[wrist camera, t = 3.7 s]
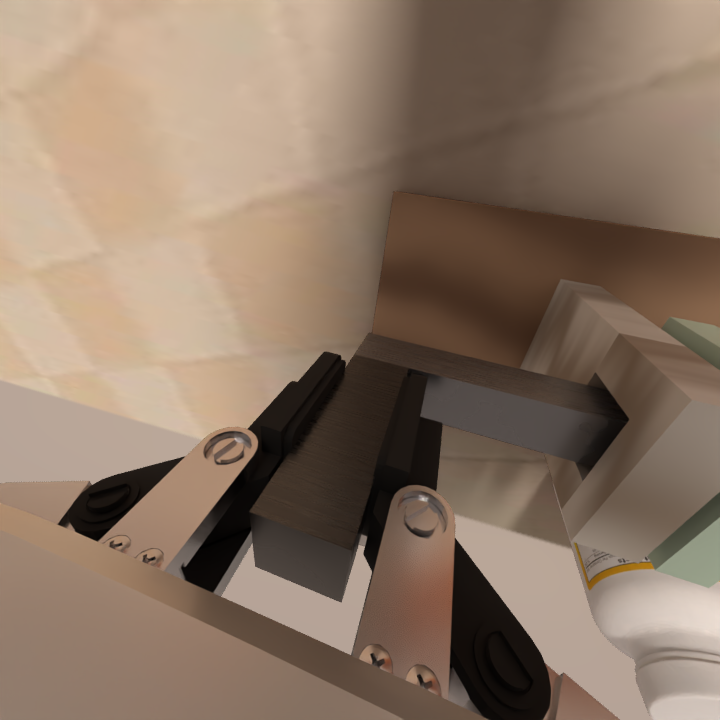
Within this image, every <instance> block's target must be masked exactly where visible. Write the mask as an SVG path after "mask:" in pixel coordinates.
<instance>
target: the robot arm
mask: <svg viewBox="0 0 720 720" xmlns="http://www.w3.org/2000/svg"><path fill="white" fill-rule="evenodd" d="M345 366H346V362H345V361H344V360H341V356H340V355H338V354H334V353H330V352H324V353H323V354H322V355H321V356H320V357H319V358H318V359H317V361H316V362H315V363H314V364H313V365H312V366H311V367H310V369H309V370H308V371H307V372H306V373H305V374H304V375H303V377H302V378H301V379H300V380H299V381H298V382H295V381H292V382H290V383H289V384H288V385H287V386H286V387H285V388H284V389H283V391H282V392H281V393H280V394H279V395H278V396H277V397H276V398H275V399H274V400H273V402H272V403H271V404H270V405H269V406H268V407H267V408H266V409H265V410H264V411H263V413H262V414H261V415H260V416H259V417H258V418H257V419H256V420H255V421H254V422H253V424H252V425H251V426H250V427H249V428H248V429H245V428H240V427H227V428H223V429H219V430H217V431H215V432H213V433H211V434H209V435H208V436H207V437H205V438H204V439H203V440H202V441H201V442H200V443H199V444H198V445H197V446H196V447H195V448H194V449H193V450H192V451H191V452H190V453H189V454H188V455H187V456H185V457H181V458H178V459H174V460H170V461H166V462H162V463H159V464H155V465H151V466H147V467H143V468H140V469H136V470H133V471H128V472H125V473H121V474H117V475H114V476H111V477H108V478H105V479H102V480H101V481H99V482H97V483H95V484H93V485H91V483H90V481H61V482H60V481H57V482H8V483H0V720H620V719H619V718H618V717H616V716H615V715H614V714H613V713H612V712H610V711H609V710H608V709H607V708H606V707H604V706H603V705H602V704H601V703H599V702H598V701H597V700H596V699H595V698H593V697H592V696H591V695H590V694H589V693H588V692H587V691H585V690H584V689H583V688H582V687H580V686H579V685H578V684H577V683H576V682H575V681H573V680H572V679H571V678H570V677H569V676H567V675H566V674H565V673H562V674H561V675H558V674H557V673H556V672H555V671H554V670H552V669H551V668H550V667H549V666H548V665H547V664H545V663H544V660H543V658H542V655H541V653H540V652H539V650H538V648H537V647H536V645H535V644H534V642H533V640H532V639H531V638H530V636H529V635H528V634H527V632H526V631H525V630H524V628H523V627H522V626H521V624H520V623H519V622H518V620H517V619H516V618H515V616H514V615H513V614H512V613H511V611H510V610H509V608H508V607H507V606H506V604H505V603H504V602H503V600H502V599H501V598H500V596H499V595H498V594H497V593H496V591H495V590H494V589H493V587H492V586H491V585H490V583H489V582H488V581H487V579H486V578H485V577H484V575H483V574H482V573H481V571H480V570H479V569H478V567H477V566H476V565H475V563H474V562H473V561H472V559H471V558H470V557H469V555H468V554H467V553H466V551H465V550H464V549H463V548H462V546H461V545H460V544H459V542H458V541H457V540H456V538H455V518H454V513H453V511H452V509H451V507H450V505H449V504H448V502H447V501H446V500H445V499H444V497H442V496H441V495H440V494H438V493H437V492H436V489H437V478H438V468H439V457H440V446H441V436H442V422H438V421H435V420H431V419H427V418H424V417H420V415H421V410H422V405H423V400H424V395H425V390H426V385H427V380H428V377H424V376H420V375H416V374H413V373H412V374H411V377H407V376H404V378H403V381H402V384H401V387H400V390H399V393H398V396H397V399H396V402H395V405H394V408H393V411H392V415H391V418H390V421H389V424H388V427H387V430H386V433H385V436H384V439H383V442H382V445H381V448H380V451H379V455H378V458H377V462H376V466H375V470H374V475H373V476H374V477H375V478H374V482H373V487H372V491H371V496H370V501H369V505H368V510H367V514H366V519H365V524H364V528H363V532H362V535H364V536H367V540H366V545H365V550H364V556H365V558H366V560H367V562H368V564H369V566H370V568H371V570H372V575H371V579H370V583H369V587H368V591H367V595H366V599H365V603H364V607H363V611H362V615H361V619H360V622H359V626H358V630H357V635H356V638H355V643H354V646H353V650H352V654H351V655H349V654H347V653H344V652H342V651H340V650H338V649H336V648H334V647H331V646H329V645H327V644H325V643H323V642H320V641H318V640H316V639H313V638H311V637H309V636H307V635H305V634H303V633H301V632H298V631H296V630H294V629H292V628H290V627H287V626H285V625H282V624H281V623H278V622H276V621H274V620H272V619H269V618H267V617H265V616H263V615H261V614H258V613H256V612H254V611H252V610H249V609H247V608H245V607H243V606H241V605H238V604H236V603H234V602H232V601H229V600H227V599H225V598H222V597H221V596H222V594H223V592H224V590H225V589H226V587H227V585H228V583H229V582H230V580H231V578H232V577H233V575H234V573H235V572H236V570H237V568H238V567H239V565H240V563H241V561H242V559H243V558H244V556H245V555H246V553H247V551H248V549H249V548H250V546H251V544H252V543H253V541H252V532H251V523H250V514H249V511H250V510H251V508H252V507H253V505H254V504H255V502H256V501H257V499H258V498H259V496H260V495H261V493H262V492H263V490H264V489H265V487H266V486H267V484H268V483H269V481H270V480H271V478H272V477H273V475H274V474H275V473H276V471H277V470H278V468H279V467H280V465H281V464H282V462H283V461H284V459H285V458H286V456H287V455H288V453H289V452H290V450H291V449H292V448H293V447H294V445H295V444H296V442H297V441H298V439H299V438H300V436H301V435H302V433H303V432H304V430H305V429H306V427H307V426H308V424H309V423H310V421H311V420H312V418H313V417H314V415H315V414H316V412H317V411H318V409H319V408H320V406H321V405H322V403H323V402H324V400H325V399H326V397H327V396H328V394H329V393H330V391H331V390H332V388H333V387H334V385H335V384H336V382H337V381H338V379H339V378H340V376H341V375H342V373H343V372H344V370H345Z"/></svg>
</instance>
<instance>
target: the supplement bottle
mask: <svg viewBox="0 0 720 720" xmlns="http://www.w3.org/2000/svg"><path fill="white" fill-rule="evenodd" d="M553 488H554V491H555V495H556V498H557V501H558V505H559V508H560V511H561V514H562V518H563V521H564V524H565V527H566V523H565V520H564V517H563V513H562V510H561V507H560V504H559V500H558V497H557V494H556V490H555V487H554V484H553ZM566 530H567V527H566ZM567 534H568V537H569V533H568V530H567ZM569 540H570V537H569ZM570 543H571V547H572V550H573V553H574V556H575V559H576V563H577V566H578V570H579V573H580V576H581V579H582V582H583V586H584V589H585V593H586V596H587V600H588V603H589V606H590V609H591V613H592V616H593V619H594V621H595V623H596V625H597V626H598V628H599V629H600V631H601V632H602V634H603V635H604V636H605V637H606V638H607V640H609V642H610V643H611V644H612V645H614V646H615V647H616V648H617V649H618V650H620V651H621V652H622V653H624V654H626V655H627V656H629V657H630V658H632V659H634V661H635V664H636V666H635V672H636V682H637V685H638V687H639V690H640V693H641V695H642V698H643V701H644V703H645V706H646V708H647V711H648V713H649V715H650V716H651V718H652V719H653V720H720V581H719V582H717V583H716V584H714V585H713V586H711V587H710V588H707V587H704V586H701V585H698V584H695V583H692V582H689V581H686V580H683V579H680V578H676V577H673V576H670V575H667V574H664V573H661V572H658V571H655V569H654V567H653V565H652V563H651V561H650V559H649V557H648V555H647V556H646V557H645V558H644V559H643V560H642V561H640V562H639V563H635V562H632V561H629V560H626V559H623V558H620V557H617V556H614V555H611V554H608V553H605V552H602V551H599V550H596V549H593V548H590V547H587V546H584V545H581V544H578V543H575V542H572V541H571V540H570Z"/></svg>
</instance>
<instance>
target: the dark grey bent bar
mask: <svg viewBox="0 0 720 720" xmlns="http://www.w3.org/2000/svg"><path fill="white" fill-rule="evenodd" d="M412 373H413V374H416V375H420V376H424V377H428V380H427V385H426V390H425V395H424V400H423V405H422V410H421V415H420V417H424V418H427V419H431V420H435V421H438V422H442V424H443V425H447V426H451V427H454V428H458V429H461V430H465V431H468V432H472V433H475V434H479V435H482V436H486V437H489V438H493V439H496V440H500V441H503V442H507V443H510V444H514V445H517V446H521V447H524V448H528V449H532V450H535V451H539V452H542V453H546V454H549V455H553V456H556V457H560V458H563V459H567V460H570V461H574V462H577V463H581V464H584V465H588V466H591V467H594V466H595V465H596V463H597V462H598V461H599V459H600V458H601V457H602V455H603V454H604V453H605V451H606V450H607V449H608V447H609V446H610V445H611V443H612V442H613V441H614V439H615V438H616V437H617V435H618V434H619V433H620V431H621V430H622V429H623V428H624V426H625V425H626V424H627V422H628V421H629V420H630V419H629V418H628V416H627V415H626V414H625V412H624V411H623V409H622V408H621V407H620V405H619V404H618V403H617V401H616V400H615V398H614V397H613V396H612V394H611V393H610V391H609V390H607V389H602V388H598V387H594V386H590V385H586V384H582V383H577V382H573V381H569V380H565V379H561V378H556V377H552V376H548V375H544V374H540V373H535V372H531V371H527V370H523V369H519V368H515V367H510V366H506V365H502V364H498V363H494V362H489V361H485V360H481V359H477V358H473V357H468V356H464V355H460V354H456V353H452V352H448V351H443V350H439V349H435V348H431V347H427V346H422V345H418V344H414V343H410V342H406V341H401V340H397V339H393V338H389V337H385V336H381V335H376V334H372V333H369V334H368V335H367V337H366V338H365V339H364V341H363V342H362V344H361V345H360V347H359V348H358V350H357V351H356V353H355V354H354V356H353V357H352V359H351V360H350V362H349V363H348V365H347V366H346V368H345V370H344V372H343V373H342V375H341V376H340V378H339V379H338V381H337V382H336V384H335V385H334V387H333V388H332V390H331V391H330V393H329V394H328V396H327V397H326V399H325V400H324V402H323V403H322V405H321V406H320V408H319V409H318V411H317V412H316V414H315V415H314V417H313V418H312V420H311V421H310V423H309V424H308V426H307V427H306V429H305V430H304V432H303V433H302V435H301V436H300V438H299V439H298V441H297V442H296V444H295V445H294V447H293V448H292V449H291V450H290V452H289V453H288V455H287V456H286V458H285V459H284V461H283V462H282V464H281V465H280V467H279V468H278V470H277V471H276V473H275V474H274V475H273V477H272V478H271V480H270V481H269V483H268V484H267V486H266V487H265V489H264V490H263V492H262V493H261V495H260V496H259V498H258V499H257V501H256V502H255V504H254V505H253V507H252V508H251V510H250V511H249V514H250V523H251V532H252V541H253V550H254V558H255V566H256V567H258V568H260V569H262V570H265V571H267V572H270V573H272V574H274V575H277V576H279V577H282V578H284V579H286V580H289V581H291V582H293V583H296V584H298V585H301V586H303V587H305V588H308V589H310V590H313V591H315V592H318V593H320V594H322V595H325V596H327V597H329V598H332V599H334V600H336V601H339V602H342V599H343V595H344V592H345V588H346V585H347V582H348V579H349V575H350V572H351V568H352V565H353V562H354V559H355V555H356V552H357V549H358V545H359V542H360V539H361V535H362V532H363V528H364V524H365V519H366V514H367V510H368V505H369V501H370V496H371V491H372V487H373V482H374V478H375V477H374V476H373V475H374V470H375V466H376V462H377V458H378V455H379V451H380V448H381V445H382V442H383V439H384V436H385V433H386V430H387V427H388V424H389V421H390V418H391V415H392V411H393V408H394V405H395V402H396V399H397V396H398V393H399V390H400V387H401V384H402V381H403V378H404V376H407V377H411V374H412Z"/></svg>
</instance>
